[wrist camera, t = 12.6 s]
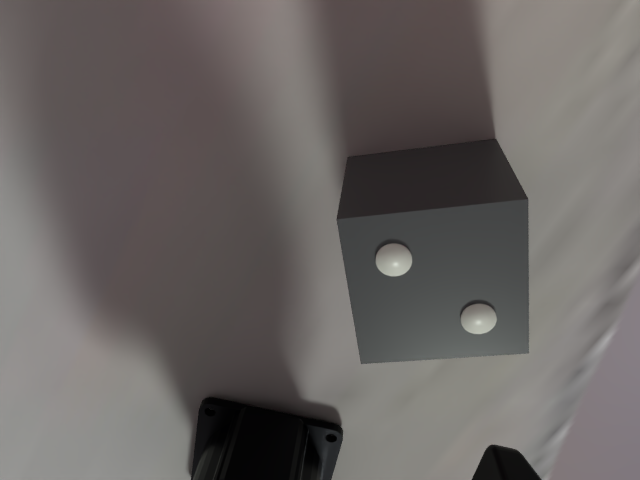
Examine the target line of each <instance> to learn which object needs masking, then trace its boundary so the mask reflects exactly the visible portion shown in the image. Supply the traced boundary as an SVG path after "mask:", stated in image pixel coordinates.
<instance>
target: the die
mask: <svg viewBox="0 0 640 480" xmlns="http://www.w3.org/2000/svg"><path fill="white" fill-rule="evenodd" d="M337 224H338V230H339V236H340V242H341V248H342V254H343V260H344V266H345V272H346V278H347V284H348V290H349V296H350V302H351V308H352V314H353V319H354V325H355V331H356V337H357V343H358V349H359V355H360V361H361V364H367V363H383V362H399V361H415V360H431V359H447V358H462V357H478V356H494V355H510V354H526V353H529V265H528V198H527V196H526V194H525V192H524V190H523V188H522V186H521V185H520V183H519V181H518V179H517V177H516V175H515V173H514V171H513V170H512V168H511V166H510V164H509V162H508V160H507V158H506V157H505V155H504V153H503V151H502V149H501V147H500V145H499V143H498V142H497V140H496V139H492V140H484V141H475V142H467V143H459V144H451V145H443V146H435V147H427V148H419V149H411V150H403V151H395V152H387V153H378V154H370V155H362V156H354V157H348V159H347V164H346V170H345V176H344V181H343V187H342V192H341V198H340V203H339V209H338V215H337Z"/></svg>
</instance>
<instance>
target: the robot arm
mask: <svg viewBox="0 0 640 480" xmlns="http://www.w3.org/2000/svg"><path fill="white" fill-rule="evenodd" d="M209 408H212V409H214V410H211V409H209ZM329 434H333V435H334V436H331V435H329ZM342 439H343V430H342V428H341V427H340V426H339V425H337V424H334V423H329V422H325V421H320V420H315V419H311V418H306V417H302V416H297V415H292V414H288V413H283V412H278V411H274V410H269V409H264V408H260V407H255V406H250V405H246V404H241V403H236V402H232V401H227V400H222V399H218V398H212V397H209V398H205V399H204V400H203V401H202V404H201V406H200V409H199V415H198V423H197V432H196V441H195V450H194V459H193V467H192V476H191V480H331V479H332V475H333V472H334V468H335V465H336V461H337V458H338V454H339V451H340V447H341V444H342ZM472 480H541V478H540V477H539V476H538V475H537V473H536V472H535V471H534V469H533V468H532V467H531V465H530V464H529V463H528V462H527V460H526V459H525V458H524V456H523V455H522V454H521V453H520V452H519V451H518V450H515V449H512V448H507V447H503V446H498V445H490V446H489V447H487V449H486V450H485V452H484V454H483V456H482V459H481V461H480V463H479V465H478V467H477V470H476V472H475V474H474V476H473V478H472Z"/></svg>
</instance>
